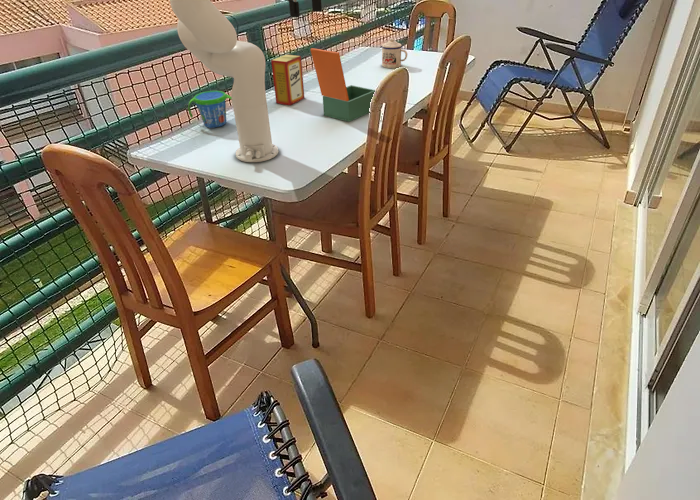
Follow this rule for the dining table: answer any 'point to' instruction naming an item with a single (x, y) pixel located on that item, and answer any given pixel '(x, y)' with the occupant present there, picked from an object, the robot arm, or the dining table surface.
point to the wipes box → (349, 104)
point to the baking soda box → (288, 79)
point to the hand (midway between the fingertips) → (306, 13)
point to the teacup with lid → (392, 54)
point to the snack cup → (211, 107)
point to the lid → (330, 74)
